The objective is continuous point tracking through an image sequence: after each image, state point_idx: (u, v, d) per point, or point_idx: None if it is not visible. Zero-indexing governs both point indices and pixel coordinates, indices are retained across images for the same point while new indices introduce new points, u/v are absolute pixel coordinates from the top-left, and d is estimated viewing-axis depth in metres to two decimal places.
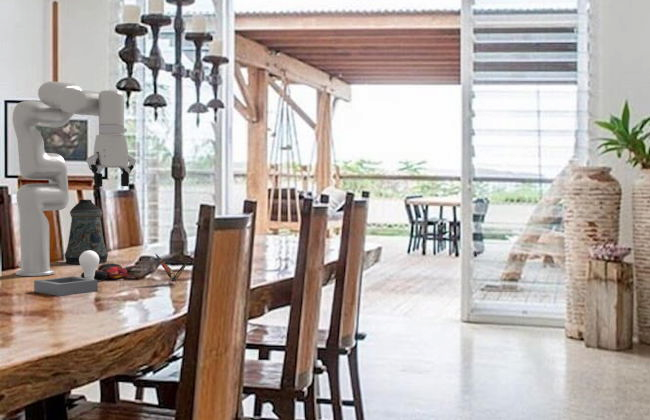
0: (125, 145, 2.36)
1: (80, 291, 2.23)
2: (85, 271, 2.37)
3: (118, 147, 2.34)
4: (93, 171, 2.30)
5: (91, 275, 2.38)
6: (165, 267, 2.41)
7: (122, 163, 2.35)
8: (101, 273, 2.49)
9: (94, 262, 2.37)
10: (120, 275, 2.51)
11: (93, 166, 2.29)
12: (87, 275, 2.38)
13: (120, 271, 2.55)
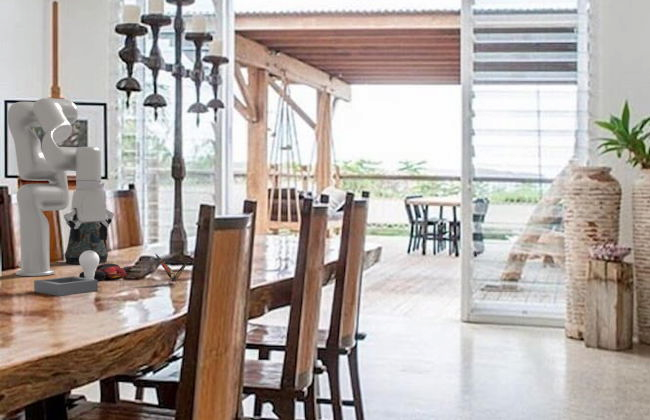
0: (102, 200, 2.39)
1: (80, 291, 2.23)
2: (85, 271, 2.37)
3: (95, 202, 2.37)
4: (71, 227, 2.33)
5: (91, 275, 2.38)
6: (165, 267, 2.41)
7: (99, 218, 2.39)
8: (99, 273, 2.49)
9: (94, 262, 2.37)
10: (118, 275, 2.51)
11: (70, 222, 2.32)
12: (87, 275, 2.38)
13: (118, 271, 2.55)
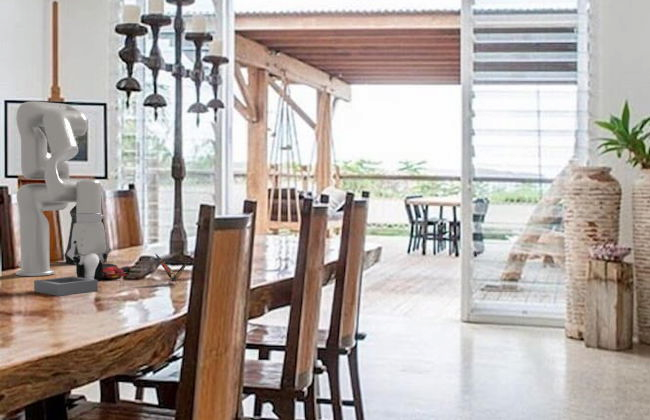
0: (102, 232, 2.40)
1: (80, 291, 2.23)
2: (85, 271, 2.37)
3: (95, 235, 2.38)
4: (75, 262, 2.35)
5: (91, 275, 2.38)
6: (165, 267, 2.41)
7: (99, 250, 2.39)
8: None
9: (94, 262, 2.37)
10: (117, 275, 2.51)
11: (75, 258, 2.34)
12: (87, 275, 2.37)
13: (116, 271, 2.55)
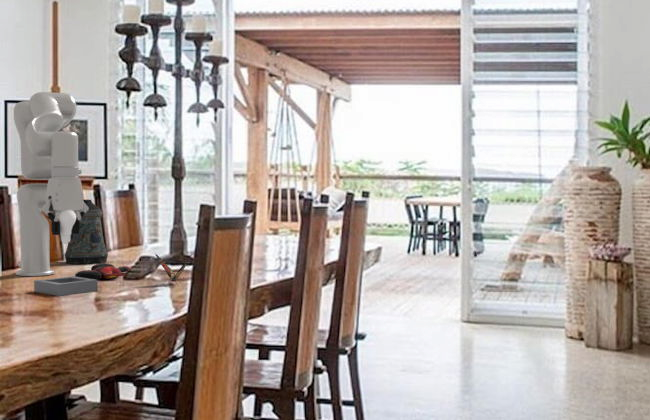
0: (80, 188, 2.26)
1: (80, 291, 2.23)
2: (61, 229, 2.24)
3: (72, 190, 2.24)
4: (50, 219, 2.22)
5: (67, 233, 2.24)
6: (165, 267, 2.41)
7: (76, 207, 2.26)
8: (95, 273, 2.48)
9: (70, 219, 2.23)
10: (114, 275, 2.51)
11: (50, 214, 2.20)
12: (63, 233, 2.24)
13: (114, 271, 2.55)
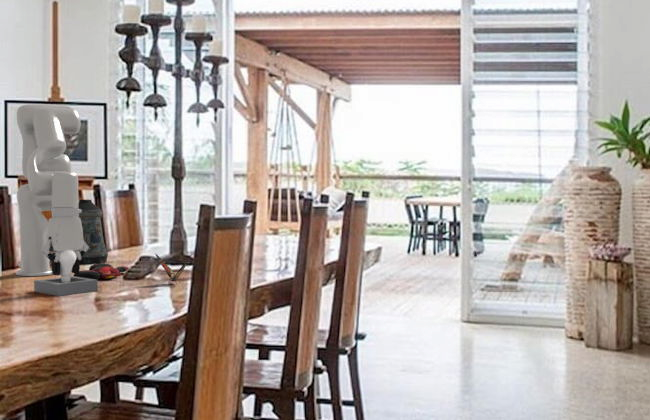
0: (80, 227, 2.27)
1: (80, 291, 2.23)
2: (61, 269, 2.24)
3: (72, 230, 2.24)
4: (50, 260, 2.22)
5: (68, 273, 2.25)
6: (165, 267, 2.41)
7: (76, 247, 2.26)
8: (94, 273, 2.48)
9: (70, 259, 2.24)
10: (113, 275, 2.51)
11: (50, 255, 2.21)
12: (63, 273, 2.24)
13: (112, 271, 2.55)
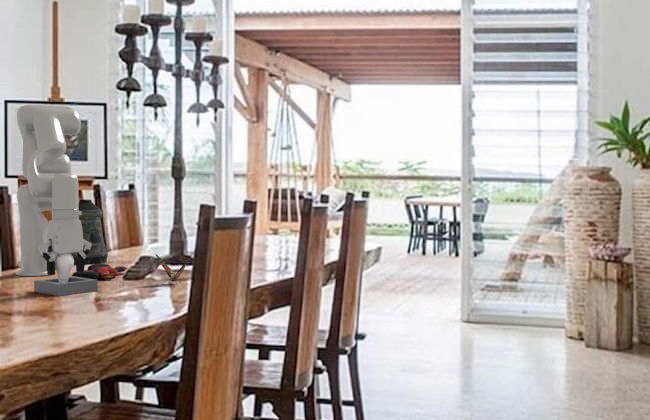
0: (80, 229, 2.27)
1: (80, 291, 2.23)
2: (59, 273, 2.24)
3: (72, 232, 2.24)
4: (45, 259, 2.21)
5: (65, 277, 2.24)
6: (165, 267, 2.41)
7: (76, 249, 2.26)
8: (92, 273, 2.48)
9: (68, 264, 2.23)
10: (111, 275, 2.51)
11: (45, 254, 2.20)
12: (61, 278, 2.24)
13: (111, 271, 2.55)
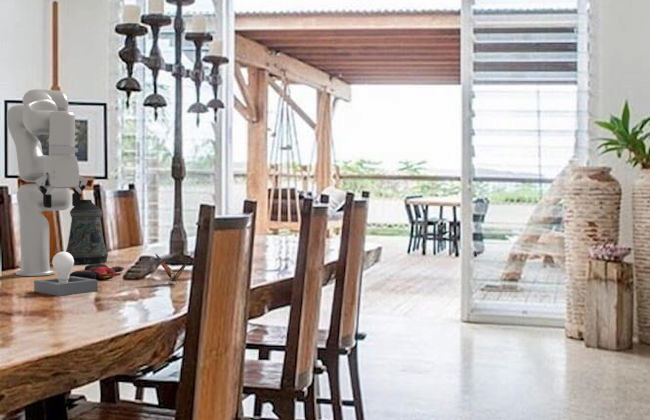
0: (76, 165, 2.35)
1: (80, 291, 2.23)
2: (58, 274, 2.24)
3: (68, 168, 2.33)
4: (42, 192, 2.30)
5: (65, 278, 2.24)
6: (165, 267, 2.41)
7: (72, 184, 2.35)
8: (90, 273, 2.48)
9: (67, 264, 2.23)
10: (109, 275, 2.50)
11: (42, 187, 2.28)
12: (61, 278, 2.24)
13: (108, 271, 2.55)
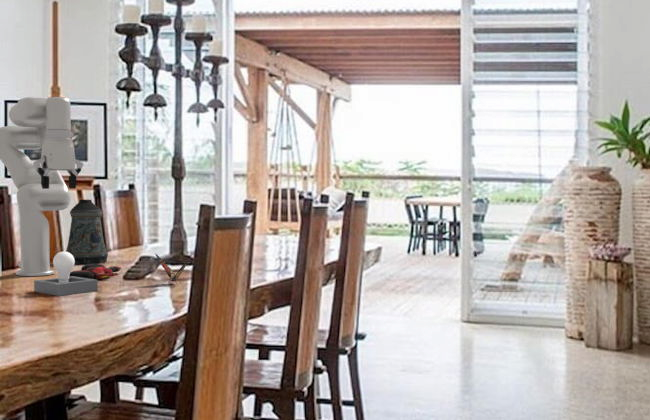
0: (72, 149, 2.47)
1: (80, 291, 2.23)
2: (59, 273, 2.24)
3: (65, 151, 2.45)
4: (40, 174, 2.42)
5: (65, 278, 2.24)
6: (165, 267, 2.41)
7: (69, 166, 2.47)
8: (88, 273, 2.48)
9: (68, 264, 2.23)
10: (107, 275, 2.50)
11: (40, 169, 2.40)
12: (61, 278, 2.24)
13: (106, 271, 2.55)
